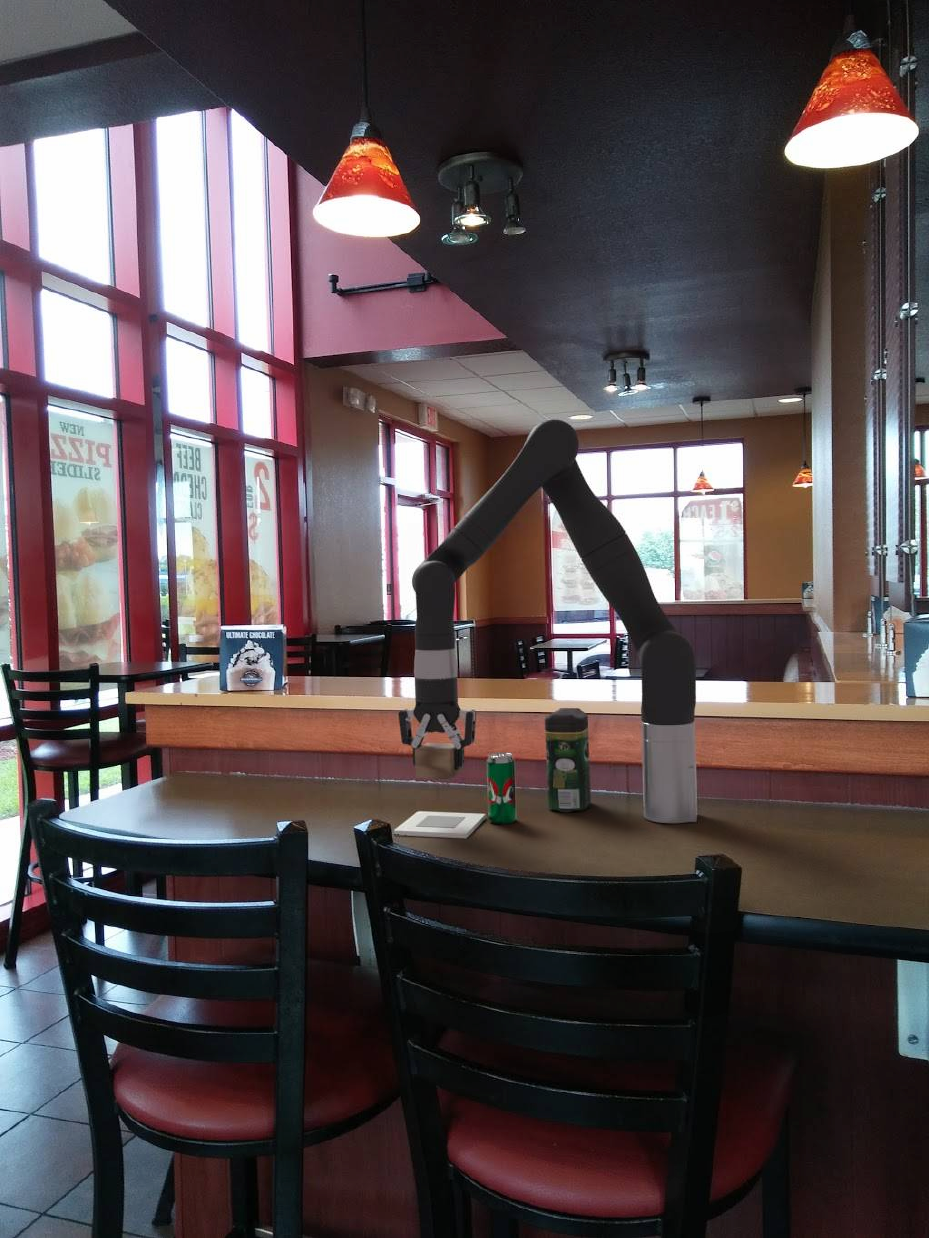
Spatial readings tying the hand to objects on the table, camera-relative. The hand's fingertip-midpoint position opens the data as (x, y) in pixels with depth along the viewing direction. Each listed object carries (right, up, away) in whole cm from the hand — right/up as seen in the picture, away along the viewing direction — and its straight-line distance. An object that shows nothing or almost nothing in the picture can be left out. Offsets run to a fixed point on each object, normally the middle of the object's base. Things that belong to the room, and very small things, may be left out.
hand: (438, 768), depth 162 cm
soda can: (+11, -10, +2) cm, 15 cm away
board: (0, -10, 0) cm, 10 cm away
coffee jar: (+24, -9, +11) cm, 28 cm away
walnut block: (0, -1, 0) cm, 1 cm away
